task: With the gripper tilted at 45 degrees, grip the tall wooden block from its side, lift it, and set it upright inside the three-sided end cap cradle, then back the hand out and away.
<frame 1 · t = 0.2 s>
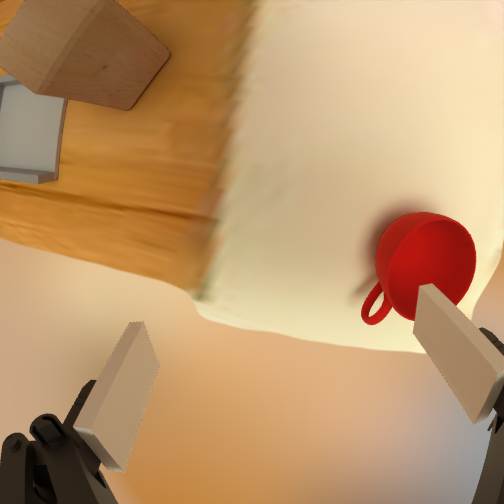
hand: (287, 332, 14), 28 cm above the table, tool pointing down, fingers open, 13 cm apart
end cap cradle: (27, 125, 36), on the table
ceramic cup: (392, 255, 41), on the table
wooden block: (126, 67, 34), on the table
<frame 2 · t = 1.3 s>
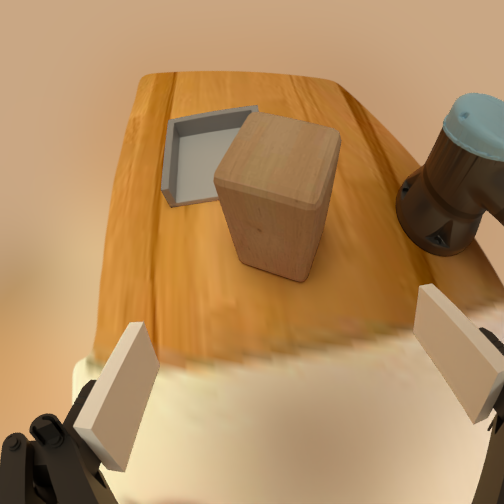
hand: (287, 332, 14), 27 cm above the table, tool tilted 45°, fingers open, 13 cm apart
end cap cradle: (218, 161, 53), on the table
wooden block: (282, 244, 45), on the table
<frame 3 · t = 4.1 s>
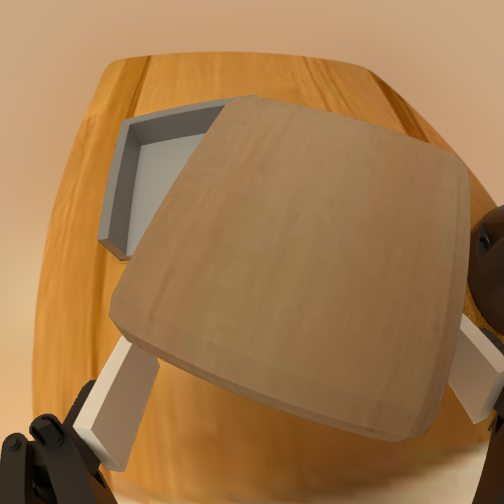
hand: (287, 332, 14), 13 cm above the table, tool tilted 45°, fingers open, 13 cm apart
end cap cradle: (194, 184, 34), on the table
wooden block: (295, 335, 27), on the table, touching gripper
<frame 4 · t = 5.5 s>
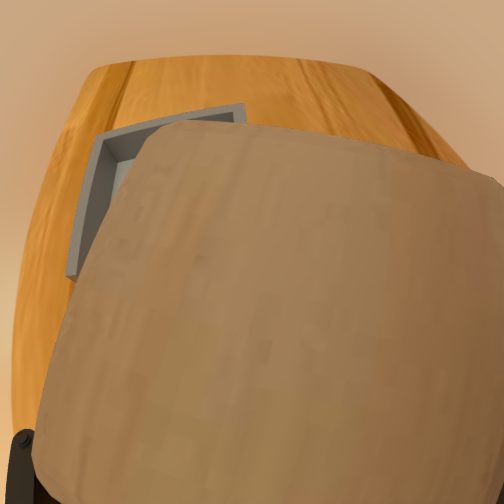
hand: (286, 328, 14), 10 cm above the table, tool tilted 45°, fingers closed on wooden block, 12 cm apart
end cap cradle: (174, 207, 30), on the table
wooden block: (288, 378, 23), on the table, touching gripper
when the fingers open (13 cm above the table, at t = 12.4 s): wooden block drops 1 cm, resting on end cap cradle.
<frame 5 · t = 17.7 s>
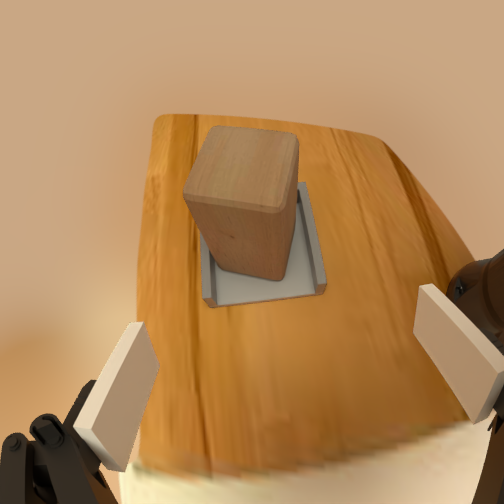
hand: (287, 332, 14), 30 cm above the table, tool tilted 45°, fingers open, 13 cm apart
end cap cradle: (260, 250, 48), on the table
wooden block: (257, 247, 48), point 1 cm above the table, touching end cap cradle
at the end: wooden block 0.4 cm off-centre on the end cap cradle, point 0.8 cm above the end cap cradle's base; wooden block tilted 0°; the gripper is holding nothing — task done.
